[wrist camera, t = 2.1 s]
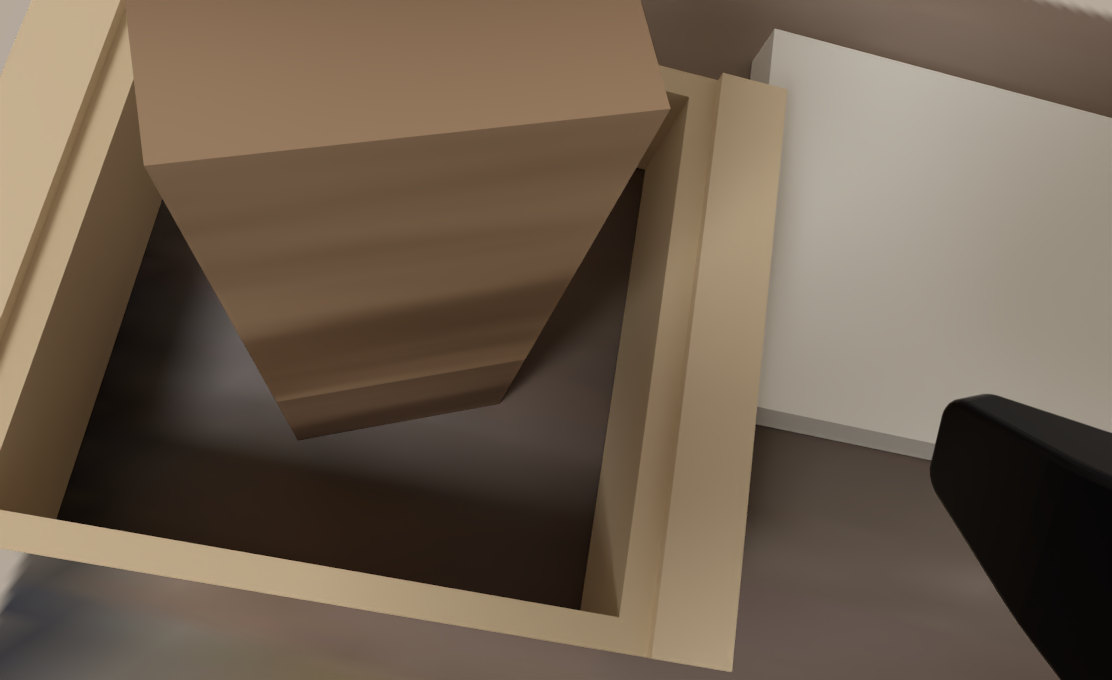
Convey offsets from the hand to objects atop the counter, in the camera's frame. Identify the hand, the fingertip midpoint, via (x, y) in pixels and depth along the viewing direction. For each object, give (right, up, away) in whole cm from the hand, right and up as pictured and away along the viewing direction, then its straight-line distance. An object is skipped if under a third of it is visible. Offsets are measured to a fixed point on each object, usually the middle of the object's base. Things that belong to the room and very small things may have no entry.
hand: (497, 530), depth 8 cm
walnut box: (-3, +2, +13) cm, 13 cm away
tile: (+12, +3, +16) cm, 20 cm away
